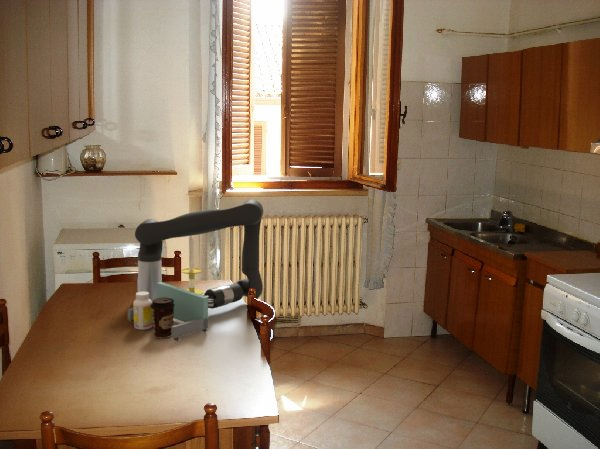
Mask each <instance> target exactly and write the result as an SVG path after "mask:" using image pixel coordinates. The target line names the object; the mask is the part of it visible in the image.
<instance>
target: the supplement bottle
mask: <svg viewBox="0 0 600 449" xmlns="http://www.w3.org/2000/svg"><path fill="white" fill-rule="evenodd" d="M151 304H152V301H151V300H150V299H149V292H138V291H137V292H136V293H135V300H134V301H133V304H132V305H133V306H132V308H133V310H134V323H133V327H134V329H136V330H139V331H140V330H141V331H144V330H145V331H146V330H150V329H151V328H152V327H153V317H152V309H151V307H150V305H151Z"/></svg>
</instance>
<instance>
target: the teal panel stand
mask: <svg viewBox="0 0 600 449" xmlns="http://www.w3.org/2000/svg"><path fill="white" fill-rule="evenodd" d="M203 295H204V294H202V295H200V294H197V293H193V292H190V291H187V290H186V289H184V288H182V287H178V286H175V285H171V284H168V283H165V282H163V281H162V282H158V283H157V298H162V297H168V298H172V299H173V300H174V302H173V303H174V304H175V306H174V317H173V320H178V321H180V322H182V323H178V324H173V326H171V336H170V337H171V338H172V339H173V340H174V341H175V342H178V341H179V340H180V338H181V337H184V336H187V335H190V334H194V333H196V332H201V331H202V333H207V332H208V329H209V308H208V297H206V296H203ZM127 320H128V321H130V323H132V324H134V310H133V307H131V308H128V309H127Z"/></svg>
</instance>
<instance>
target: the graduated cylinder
mask: <svg viewBox="0 0 600 449" xmlns="http://www.w3.org/2000/svg"><path fill="white" fill-rule="evenodd" d="M194 236H195V235H192V236H188V268H182V269H181V273H183V274H185V275H188V289H185V290H187V291H190V292H193V293H197V294H200V295H204V291H203V290H202V289H199V288H195V287H196V286H195V280H196V279H195V275H196V274H200V273H202V269H201V268H198V267H197V268H196V267H195V237H194Z"/></svg>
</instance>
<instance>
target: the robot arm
mask: <svg viewBox="0 0 600 449" xmlns="http://www.w3.org/2000/svg"><path fill="white" fill-rule="evenodd" d="M263 215H264V208H263V205H262V203H260V201H258V200H255V199H249V200H246V201H245V202H244V203H242V204H240V205H237V206H233V207H229V208H225V209H202V210H196V211H192V212H188V213H183V214H181V215H179V216H176V217H174V218H171V219H170V218H169V219H167V220H162V221H158V220H156V219H154V218H151V219H150V218H149V219H146V220H143V221H142V222H141V223H140V224H138V226H137V227H136V229H135V230H134V231H135V232H134V237H135V239H136V241H137V242H138V243H139V249H138V253H137V259H138V260H137V269H138V270H137V271H138V272H137V273H138V274H137V275H138V276H137V278H136V279H137V292H149V299H150V300H151V301H152V303H153V300H154V299H156V298H157V283H158V282H163V281H162V278H163V277H162V276H163V275H162V270H163V269H162V254H163V249H164V248H163V247H164V246H163V245H164V244H163V242H164V241H165V240H169V239H176V238H184V237H189V236H192V235H193V236H198V235H203V234H208V233H213V232H216V231H219V230H220V231H221V230H225V229H226V228H232V227H241V226H243V244H242V252H241V272H242V274H243V275H244V276H246V277H247V278H242V279H239V280H237V281H235V282H234V283H231V284H227V285H222V286H217V287H213V288H209V289H207V290H206V291H205V293H203V294H202V295H203V296H206V297H208V309H217V308H219V307H223V306H227V305H229V304H233V303H235V302H238V301H241V299H243V297H247V298H249V297H248V292H249V288H253V289H254V288H255V289H256V297H257V299H258V298H260V297H261V295H262V294H263V290H264V286H263V281H262V280H263V279H262V276H261V273H260V231H261V224H262V223H261V222H262V218H263Z"/></svg>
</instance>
